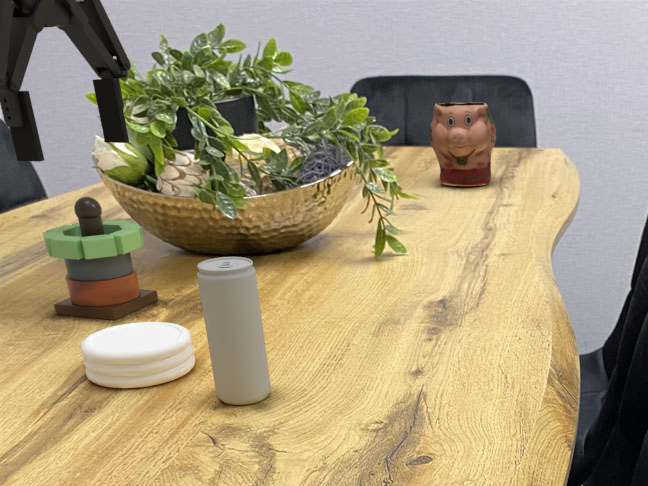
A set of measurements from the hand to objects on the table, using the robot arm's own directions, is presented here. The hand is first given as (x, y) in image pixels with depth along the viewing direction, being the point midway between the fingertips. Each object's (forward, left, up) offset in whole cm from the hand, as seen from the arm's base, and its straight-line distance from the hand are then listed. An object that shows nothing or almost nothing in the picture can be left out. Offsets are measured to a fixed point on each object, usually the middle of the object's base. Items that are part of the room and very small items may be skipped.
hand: (76, 151), depth 104 cm
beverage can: (+30, -20, -17) cm, 40 cm away
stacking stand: (0, 0, -17) cm, 17 cm away
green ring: (0, 0, -10) cm, 10 cm away
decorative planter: (+13, +86, -17) cm, 89 cm away
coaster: (+17, -17, -17) cm, 29 cm away
